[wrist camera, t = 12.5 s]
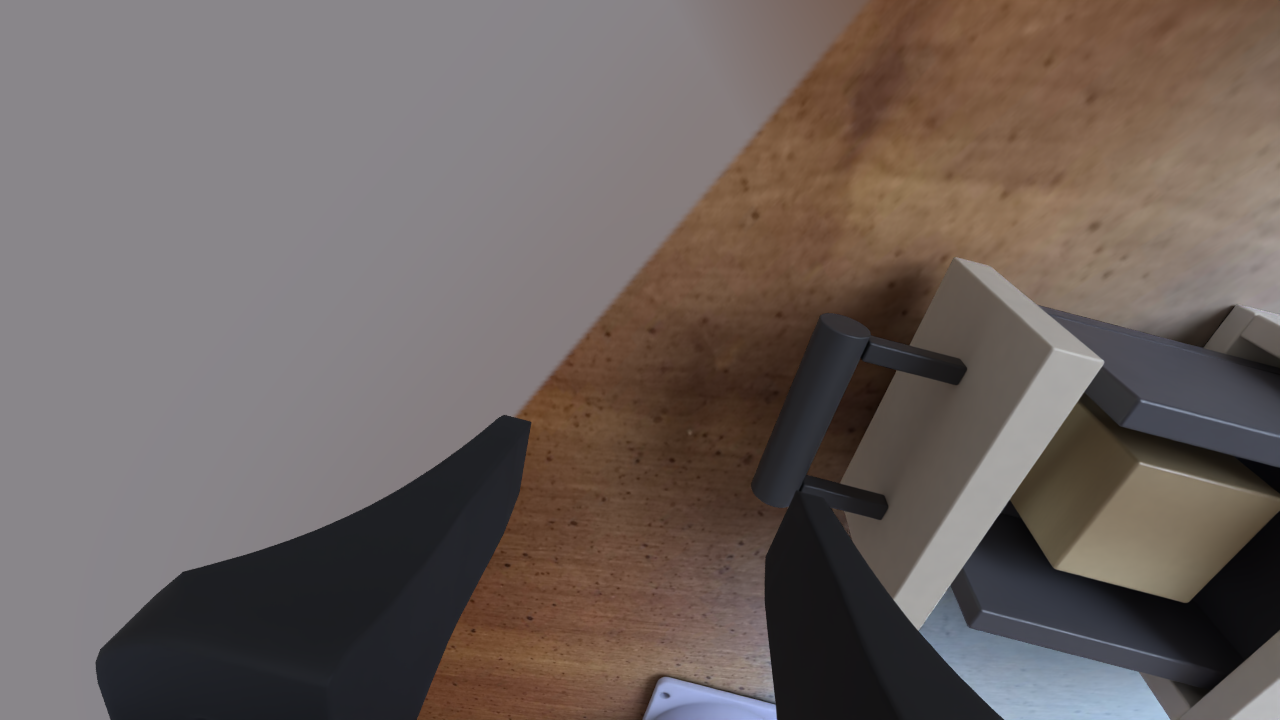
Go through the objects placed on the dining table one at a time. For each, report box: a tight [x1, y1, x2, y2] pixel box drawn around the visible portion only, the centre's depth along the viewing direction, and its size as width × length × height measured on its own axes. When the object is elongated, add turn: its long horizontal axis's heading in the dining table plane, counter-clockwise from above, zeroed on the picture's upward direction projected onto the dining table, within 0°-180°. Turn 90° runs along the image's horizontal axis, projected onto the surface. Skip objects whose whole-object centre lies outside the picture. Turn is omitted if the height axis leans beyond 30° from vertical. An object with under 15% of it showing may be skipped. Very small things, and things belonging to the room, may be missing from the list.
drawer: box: [751, 257, 1280, 690], centre depth 18 cm, size 16×9×6 cm, turn 77°
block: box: [1010, 392, 1280, 603], centre depth 18 cm, size 4×4×4 cm
